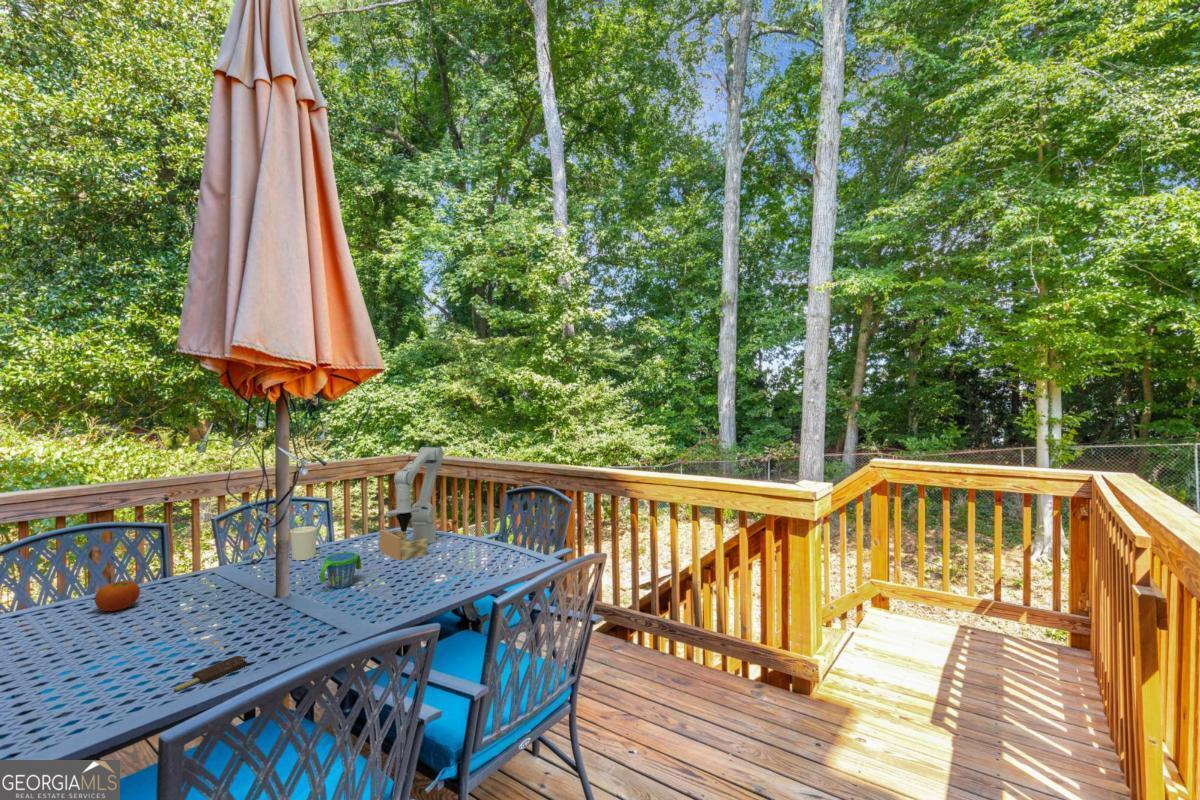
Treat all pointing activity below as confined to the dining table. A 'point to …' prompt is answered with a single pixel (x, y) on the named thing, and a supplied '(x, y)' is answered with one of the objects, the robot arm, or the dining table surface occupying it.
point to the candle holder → (303, 542)
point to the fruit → (117, 595)
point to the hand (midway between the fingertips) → (403, 531)
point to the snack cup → (340, 569)
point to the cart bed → (411, 546)
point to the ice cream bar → (214, 671)
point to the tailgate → (390, 544)
